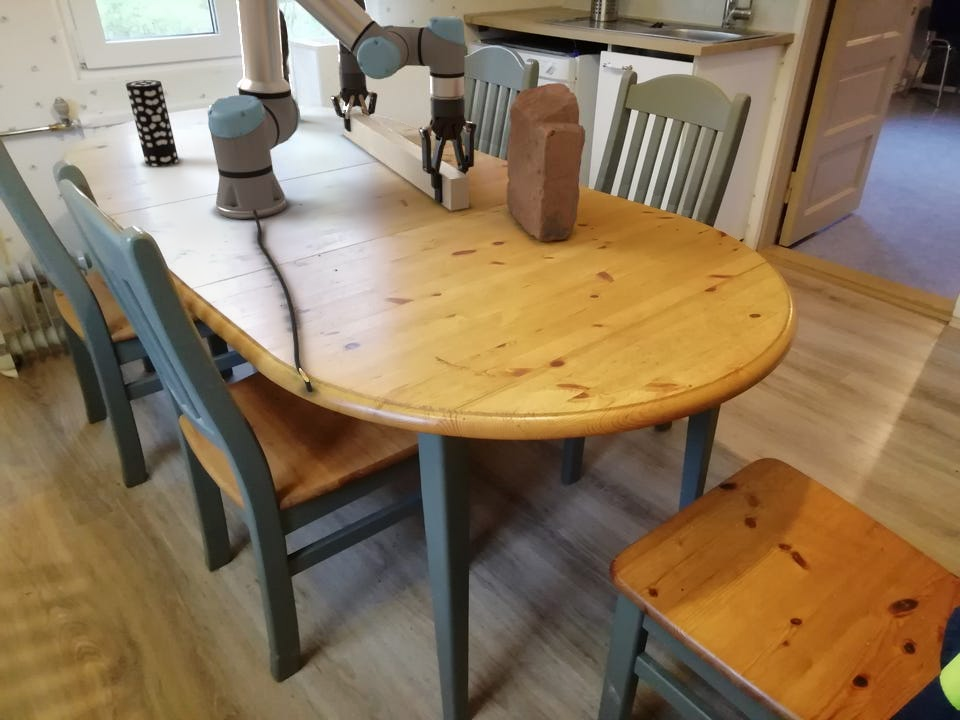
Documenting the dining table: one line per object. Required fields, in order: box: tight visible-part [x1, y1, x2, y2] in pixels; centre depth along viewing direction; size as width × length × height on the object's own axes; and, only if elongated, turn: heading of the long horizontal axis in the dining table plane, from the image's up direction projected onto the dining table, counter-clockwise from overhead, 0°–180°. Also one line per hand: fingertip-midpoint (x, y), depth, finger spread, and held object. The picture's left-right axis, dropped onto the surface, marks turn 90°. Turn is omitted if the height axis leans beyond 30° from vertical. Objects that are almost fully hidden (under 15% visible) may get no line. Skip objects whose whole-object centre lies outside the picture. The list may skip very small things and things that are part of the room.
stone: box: [506, 82, 586, 242], centre depth 144 cm, size 22×11×28 cm, turn 18°
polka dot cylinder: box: [125, 79, 179, 167], centre depth 181 cm, size 8×8×20 cm
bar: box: [342, 108, 470, 212], centre depth 184 cm, size 73×5×7 cm, turn 29°
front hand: (449, 199), depth 163 cm, fingers closed on bar, 5 cm apart
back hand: (357, 129), depth 207 cm, fingers closed on bar, 4 cm apart
